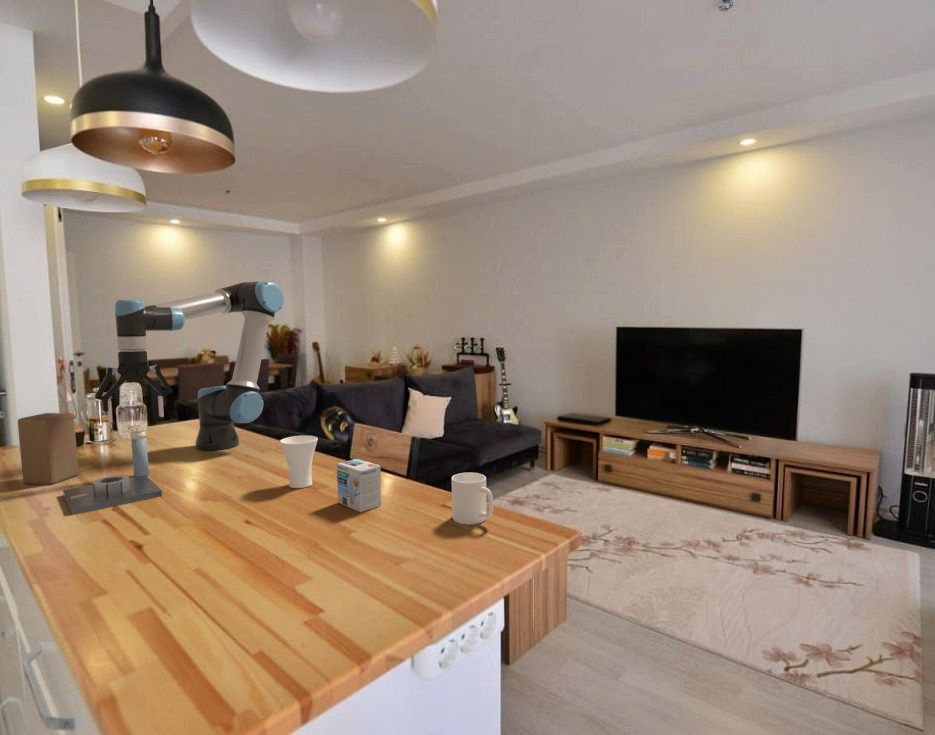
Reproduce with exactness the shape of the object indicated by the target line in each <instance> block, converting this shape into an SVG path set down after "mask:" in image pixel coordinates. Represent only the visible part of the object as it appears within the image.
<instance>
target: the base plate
mask: <svg viewBox="0 0 935 735" xmlns="http://www.w3.org/2000/svg"><path fill="white" fill-rule="evenodd" d="M62 493H63V498H64V501H65V502H66V505H67V507H68V509H69V511H70V513H71V515H72V516H73V515H77V514H82V513H87V512H88V513H89V512H92V511H96V510H102V509H106V508H111V506H112V507H116V506H121V505H126V504H131V503H135V502H139V501H143V500H149V499H155V498H158V497H162V496H163V492H162V489H161V488H160V487H159V486H157V485H156V484H155V482H154V481H152V480H151V478H149V477H148V476H146V475H144V476H138V477H134V476H133V477H130V476H128V475H119V474H118V475H111V476H106V477H101V478H98V479H96V480H94V481H92V484H90V485H84V486H79V487H74V488H68V489H67V488H66V489H63V490H62Z"/></svg>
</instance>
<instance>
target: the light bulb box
mask: <svg viewBox="0 0 935 735" xmlns="http://www.w3.org/2000/svg"><path fill="white" fill-rule="evenodd" d="M381 475H382V474H381V465H380V464H376V463H373V462H370V461H366V460H363V459H360V458H353V459H350V460H347V461H342V462H339V463H338V462H337V463H336V477H337V479H336V482H337V483H336V484H337V485H336V486H337V503H338V504H340V505H343V506H345V507H348V508H350V509H352V510H353V511H356V512H359V513H363V512H367V511H370V510H372V509H375V508H379V507H381V506H382V490H381V489H382V485H381V484H382V483H381V480H382V478H381Z"/></svg>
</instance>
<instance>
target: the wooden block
mask: <svg viewBox="0 0 935 735" xmlns="http://www.w3.org/2000/svg"><path fill="white" fill-rule="evenodd" d="M17 428H18V439H19V440H18V441H19V451H20V461H21V472H22V481H23V483H24V484H28V485H29V484H31V485H34V484H35V485H53V484H57V483H59V482H63V481H65V480H68V479H71V478H73V477H76V476H78V475H79V464H78V448H77V440H76V439H77V438H76V425H75V416H74V414H73V413H71V412H69V413H68V412H66V413H65V412H63V413H62V412H44V413H40V414H35V415H30V416H25V417H20V418H19V419H17Z"/></svg>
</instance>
